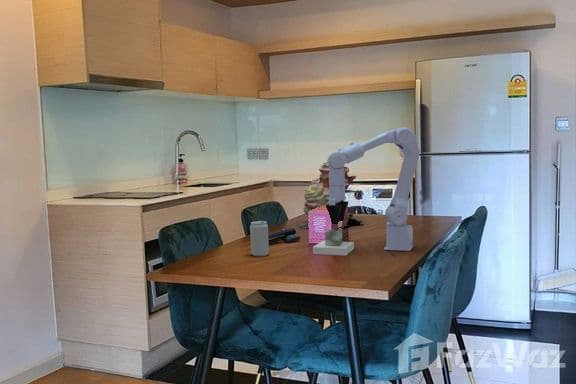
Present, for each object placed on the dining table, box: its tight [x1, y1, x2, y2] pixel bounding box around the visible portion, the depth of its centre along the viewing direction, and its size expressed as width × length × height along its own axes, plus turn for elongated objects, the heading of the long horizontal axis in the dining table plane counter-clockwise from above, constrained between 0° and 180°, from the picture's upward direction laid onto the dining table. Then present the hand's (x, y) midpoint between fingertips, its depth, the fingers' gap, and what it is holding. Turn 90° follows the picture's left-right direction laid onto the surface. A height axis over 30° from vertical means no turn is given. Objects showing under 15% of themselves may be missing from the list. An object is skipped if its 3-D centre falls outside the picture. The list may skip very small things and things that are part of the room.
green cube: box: [324, 229, 343, 246], centre depth 202 cm, size 5×5×5 cm
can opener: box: [268, 227, 301, 246], centre depth 222 cm, size 18×7×6 cm, turn 125°
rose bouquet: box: [300, 161, 365, 229], centre depth 259 cm, size 26×29×30 cm
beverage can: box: [249, 220, 270, 257], centre depth 200 cm, size 6×6×12 cm
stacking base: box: [312, 240, 355, 256], centre depth 203 cm, size 12×12×2 cm
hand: (337, 222), depth 203 cm, fingers open, 7 cm apart
